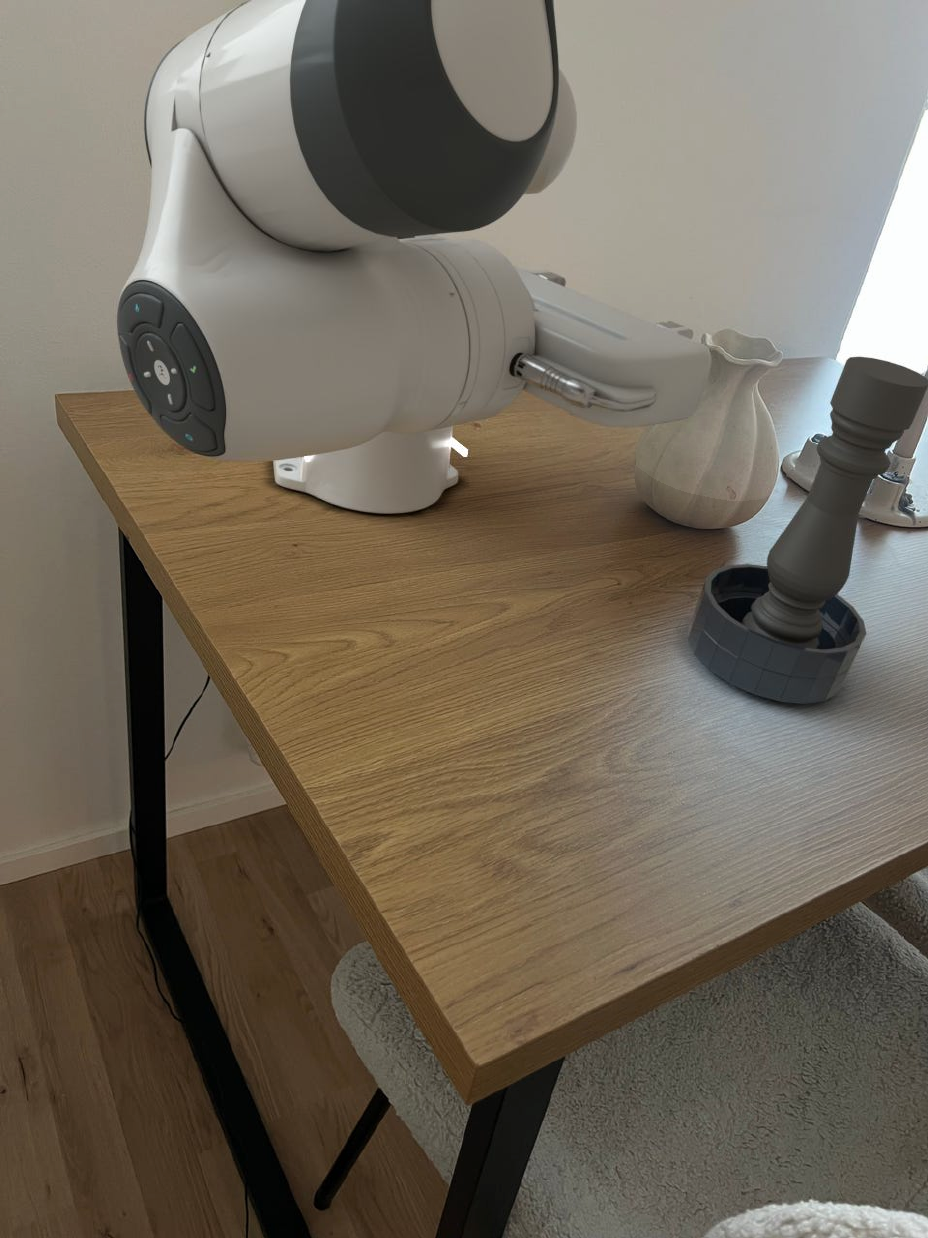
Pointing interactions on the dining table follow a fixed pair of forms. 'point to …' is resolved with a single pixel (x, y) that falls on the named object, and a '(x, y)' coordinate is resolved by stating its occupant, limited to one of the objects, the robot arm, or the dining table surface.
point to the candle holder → (835, 499)
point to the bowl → (770, 641)
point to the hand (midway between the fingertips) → (615, 312)
